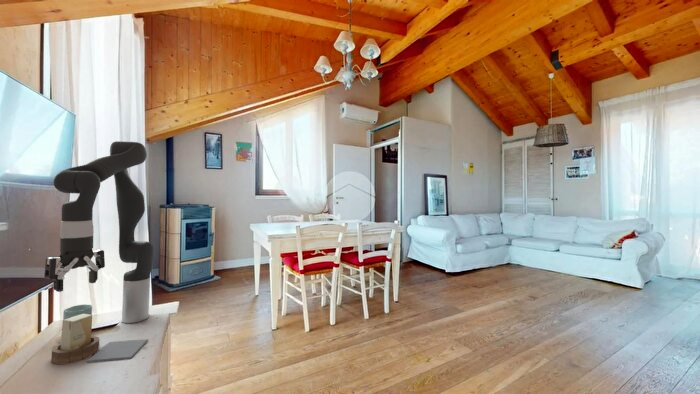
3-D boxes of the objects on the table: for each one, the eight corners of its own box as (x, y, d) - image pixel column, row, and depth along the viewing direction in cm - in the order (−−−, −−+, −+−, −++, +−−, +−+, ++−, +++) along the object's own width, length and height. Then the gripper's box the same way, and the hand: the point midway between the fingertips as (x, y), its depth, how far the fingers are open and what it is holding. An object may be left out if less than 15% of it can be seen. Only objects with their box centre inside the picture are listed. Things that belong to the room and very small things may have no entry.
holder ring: (68, 347, 99) (68, 337, 99) (105, 344, 102) (106, 334, 102) (41, 365, 88) (42, 354, 88) (84, 361, 91) (85, 350, 91)
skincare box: (69, 360, 91) (71, 321, 91) (59, 358, 92) (60, 320, 92) (91, 350, 98) (93, 314, 98) (81, 348, 98) (83, 312, 99)
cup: (77, 329, 112) (78, 303, 113) (96, 330, 112) (97, 304, 112) (56, 339, 105) (57, 311, 105) (77, 339, 104) (78, 312, 105)
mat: (109, 343, 102) (109, 342, 102) (147, 340, 105) (147, 339, 105) (87, 362, 91) (87, 360, 91) (131, 358, 93) (131, 356, 93)
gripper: (95, 231, 97) (94, 279, 98) (39, 237, 84) (38, 292, 84) (110, 233, 95) (110, 281, 95) (55, 239, 81) (55, 296, 82)
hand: (76, 286), depth 90 cm, fingers open, 8 cm apart
